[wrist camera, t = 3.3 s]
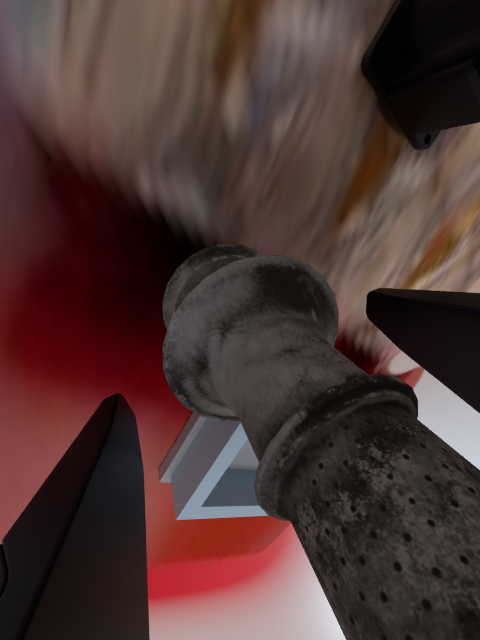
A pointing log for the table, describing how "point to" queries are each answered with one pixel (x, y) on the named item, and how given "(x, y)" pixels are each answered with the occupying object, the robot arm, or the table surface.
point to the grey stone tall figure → (329, 444)
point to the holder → (212, 471)
